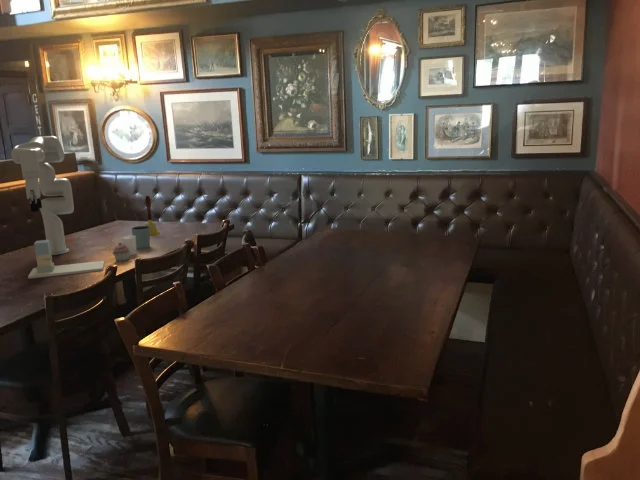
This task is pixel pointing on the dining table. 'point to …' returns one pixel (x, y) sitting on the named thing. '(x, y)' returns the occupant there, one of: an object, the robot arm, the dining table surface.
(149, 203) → the handbell
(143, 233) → the teal plant pot
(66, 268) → the build board
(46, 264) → the beech block
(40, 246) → the blue block
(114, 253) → the cupcake
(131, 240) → the white cup
